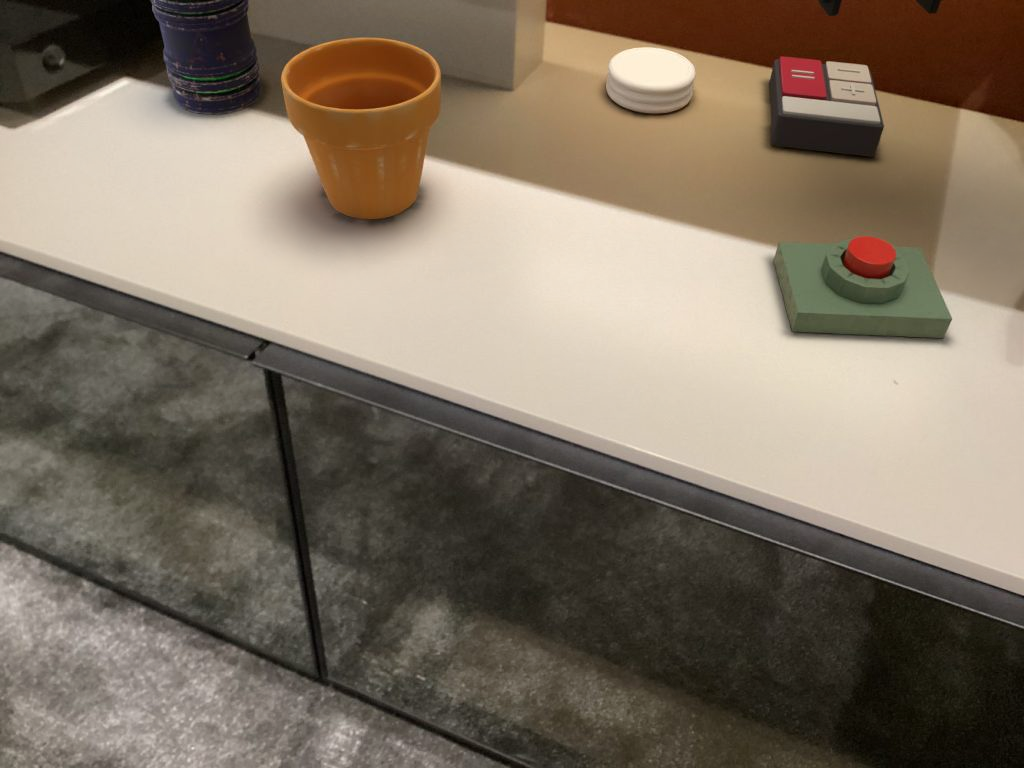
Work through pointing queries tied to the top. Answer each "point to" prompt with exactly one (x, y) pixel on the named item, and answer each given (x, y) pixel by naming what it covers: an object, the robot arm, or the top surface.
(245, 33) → the storage jar
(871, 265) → the red push button
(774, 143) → the calculator
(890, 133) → the top surface
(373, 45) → the flower pot
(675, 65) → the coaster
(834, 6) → the robot arm
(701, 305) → the top surface
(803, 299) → the button box
